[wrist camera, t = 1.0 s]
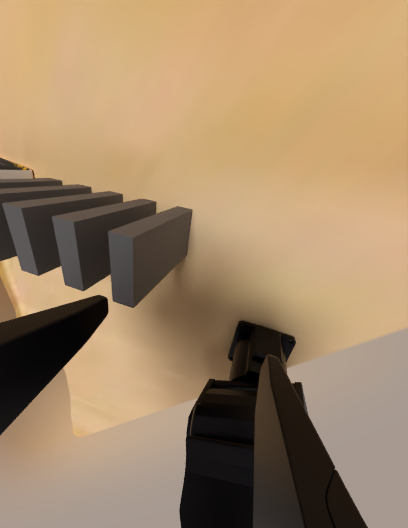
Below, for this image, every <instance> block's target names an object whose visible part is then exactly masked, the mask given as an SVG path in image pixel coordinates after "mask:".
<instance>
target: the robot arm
mask: <svg viewBox="0 0 408 528" xmlns="http://www.w3.org/2000/svg"><path fill="white" fill-rule="evenodd" d="M107 314H108V299H107V298H106V297H104V296H101V295H96V296H93V297H89V298H86V299H82V300H79V301H75V302H72V303H68V304H65V305H61V306H58V307H54V308H51V309H47V310H44V311H40V312H37V313H33V314H30V315H26V316H23V317H19V318H16V319H13V320H9V321H6V322H2V323H0V435H1V434H2V433H3V432H4V431H5V429H7V427H8V426H9V425H10V424H11V423H12V422H13V421H14V420H15V419H16V418H17V417H18V416H19V414H20V413H21V412H22V411H23V410H24V409H25V408H26V407H27V406H28V405H29V403H30V402H32V400H33V399H34V398H35V397H36V396H37V395H38V394H39V393H40V392H41V391H42V390H43V389H44V388H45V387H46V385H47V384H48V383H49V382H50V381H51V380H52V379H53V378H54V377H55V376H56V374H58V372H59V371H60V370H61V369H62V368H63V367H64V366H65V365H66V364H67V363H68V362H69V361H70V360H71V359H72V357H73V356H74V355H75V354H76V353H77V352H78V351H79V350H80V349H81V348H82V347H83V346H84V344H85V343H86V342H87V341H88V340H89V338H90V337H91V336H92V334H93V333H94V332H95V331H96V329H97V328H98V327H99V325H100V324H101V323H102V321H103V320H104V319H105V318H106V316H107ZM241 325H244V326H241ZM290 340H292V341H290ZM295 344H296V340H295V338H294V337H292V336H289V335H286V334H283V333H280V332H277V331H274V330H270V329H267V328H264V327H261V326H258V325H255V324H251V323H248V322H245V321H239V323H238V325H237V329H236V332H235V335H234V338H233V342H232V345H231V348H230V352H229V355H228V359H229V360H230V361H232V367H231V372H230V377H229V381H222V380H215V379H209V381H208V382H207V384H206V386H205V388H204V389H203V391H202V393H201V394H200V396H199V398H198V400H197V401H196V403H195V405H194V407H193V409H192V411H191V413H190V415H189V419H188V426H187V437H186V468H185V477H184V484H183V490H182V497H181V503H180V521H181V528H368V527H367V525H366V524H365V522H364V520H363V518H362V517H361V515H360V513H359V511H358V509H357V507H356V506H355V504H354V502H353V500H352V498H351V496H350V494H349V492H348V491H347V489H346V488H345V485H344V483H343V481H342V479H341V477H340V476H339V473H338V471H337V470H334V469H335V466H334V464H333V462H332V460H331V458H330V456H329V454H328V453H327V451H326V449H325V447H324V445H323V443H322V441H321V439H320V437H319V435H318V433H317V431H316V430H315V428H314V426H313V424H312V422H311V420H310V418H309V416H308V412H307V407H306V402H305V397H304V393H303V388H302V383H301V382H295V383H291V381H290V379H289V377H288V376H287V369H286V362H287V360H288V358H289V356H290V354H291V352H292V350H293V348H294V346H295Z"/></svg>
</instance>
